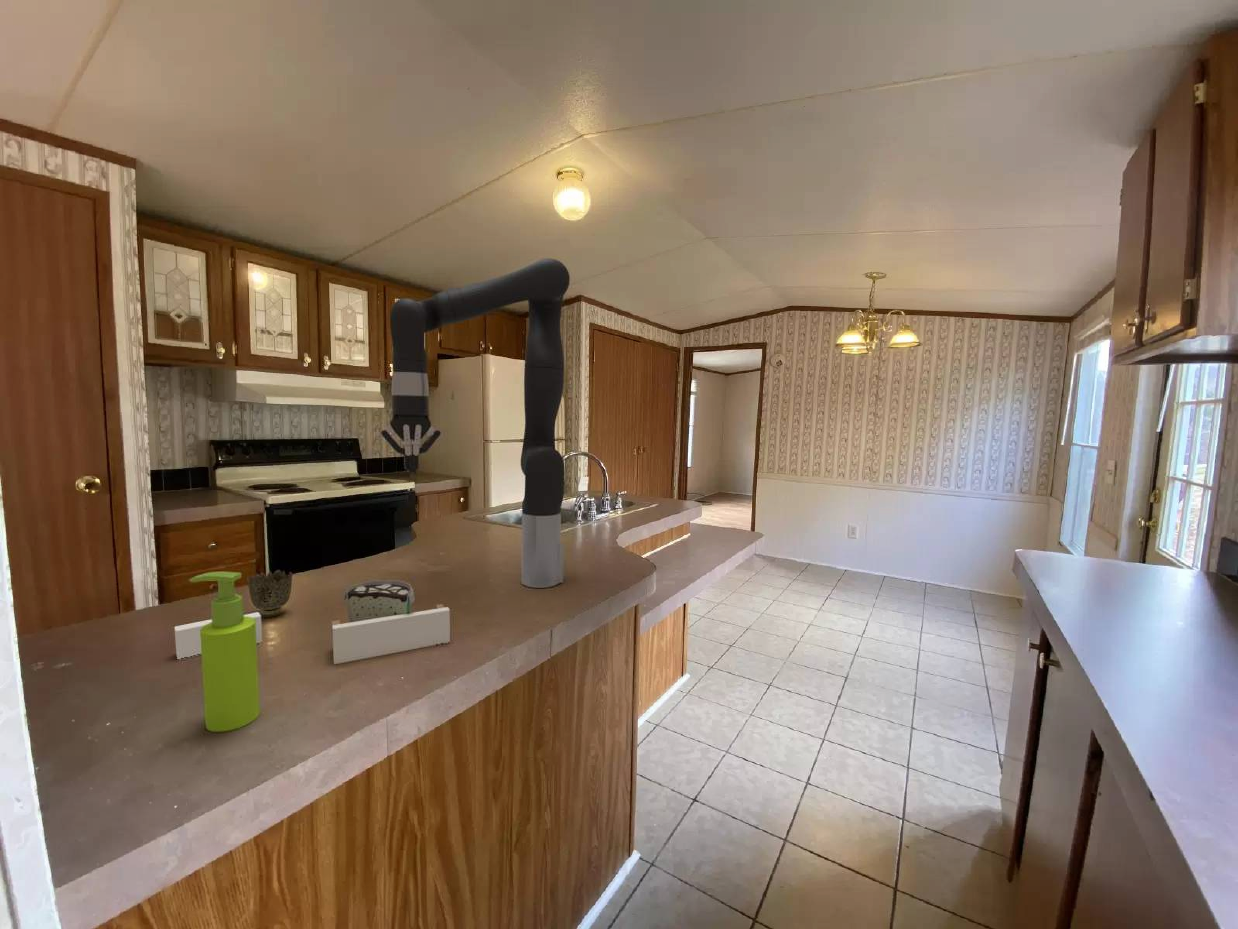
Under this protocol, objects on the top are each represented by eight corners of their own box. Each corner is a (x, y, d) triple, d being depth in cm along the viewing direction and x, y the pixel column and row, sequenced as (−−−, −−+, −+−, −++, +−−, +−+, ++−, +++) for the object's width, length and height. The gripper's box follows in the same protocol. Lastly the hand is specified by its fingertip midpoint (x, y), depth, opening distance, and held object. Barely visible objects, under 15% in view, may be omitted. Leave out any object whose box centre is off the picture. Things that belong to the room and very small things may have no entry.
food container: (427, 632, 100) (426, 580, 99) (411, 647, 94) (411, 592, 93) (363, 628, 101) (362, 577, 100) (344, 643, 95) (343, 588, 94)
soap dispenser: (216, 707, 74) (208, 566, 72) (268, 706, 75) (262, 567, 73) (186, 732, 68) (176, 581, 66) (243, 731, 69) (235, 581, 67)
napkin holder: (150, 668, 85) (148, 634, 84) (200, 637, 96) (198, 607, 96) (250, 667, 86) (248, 633, 86) (287, 637, 98) (286, 606, 97)
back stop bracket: (442, 629, 101) (442, 598, 101) (449, 642, 96) (449, 610, 96) (332, 649, 92) (331, 615, 92) (334, 664, 87) (332, 629, 86)
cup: (302, 612, 108) (300, 573, 107) (264, 625, 101) (263, 584, 100) (278, 605, 111) (276, 567, 110) (240, 617, 104) (238, 577, 103)
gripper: (379, 392, 111) (381, 475, 113) (445, 395, 118) (445, 473, 120) (375, 392, 118) (377, 471, 120) (437, 395, 124) (438, 469, 126)
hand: (411, 471), depth 120 cm, fingers closed
